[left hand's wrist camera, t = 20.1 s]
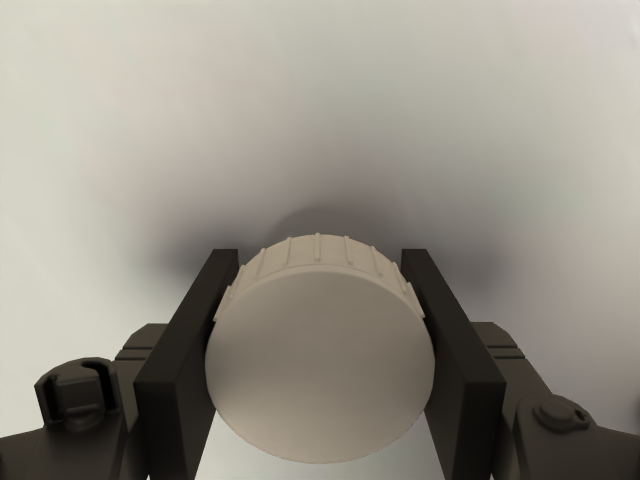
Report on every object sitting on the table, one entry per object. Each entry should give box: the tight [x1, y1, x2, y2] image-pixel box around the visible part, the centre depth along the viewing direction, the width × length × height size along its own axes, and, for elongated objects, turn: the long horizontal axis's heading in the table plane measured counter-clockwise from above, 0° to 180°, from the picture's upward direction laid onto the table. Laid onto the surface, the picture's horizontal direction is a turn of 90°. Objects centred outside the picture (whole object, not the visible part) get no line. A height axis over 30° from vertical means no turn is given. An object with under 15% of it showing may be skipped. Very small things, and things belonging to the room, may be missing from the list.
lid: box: [205, 233, 435, 464], centre depth 11 cm, size 5×5×2 cm
